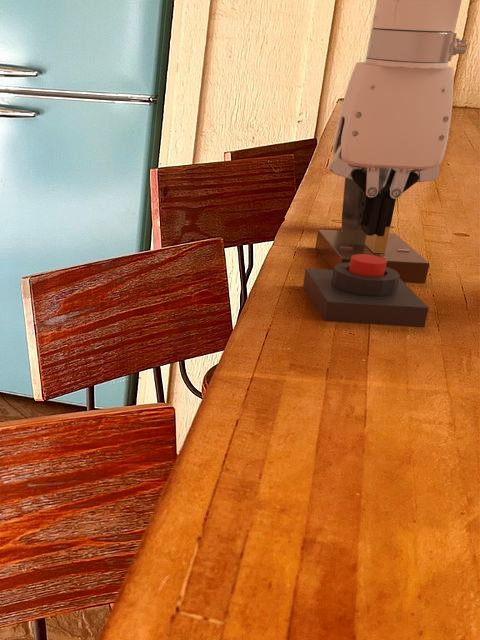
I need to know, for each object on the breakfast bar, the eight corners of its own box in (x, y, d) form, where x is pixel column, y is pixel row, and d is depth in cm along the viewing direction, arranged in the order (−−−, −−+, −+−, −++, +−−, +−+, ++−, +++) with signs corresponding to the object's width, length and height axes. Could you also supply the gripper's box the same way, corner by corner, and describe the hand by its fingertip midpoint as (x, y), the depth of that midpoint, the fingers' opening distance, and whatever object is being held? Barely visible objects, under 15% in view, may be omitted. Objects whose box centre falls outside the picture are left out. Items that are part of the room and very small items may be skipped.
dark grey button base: (391, 291, 102) (398, 258, 101) (424, 327, 91) (433, 290, 90) (302, 286, 103) (308, 253, 102) (324, 321, 92) (331, 284, 91)
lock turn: (364, 244, 111) (371, 207, 109) (376, 245, 111) (383, 207, 109) (373, 253, 108) (380, 214, 106) (385, 253, 107) (392, 215, 106)
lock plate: (392, 251, 118) (395, 232, 117) (425, 283, 105) (430, 261, 104) (314, 247, 119) (318, 228, 118) (338, 278, 106) (342, 257, 105)
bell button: (378, 270, 97) (381, 255, 96) (387, 280, 94) (391, 264, 93) (344, 268, 98) (347, 253, 97) (352, 278, 94) (355, 262, 94)
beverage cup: (390, 231, 128) (418, 87, 121) (378, 241, 123) (407, 91, 115) (338, 223, 132) (363, 83, 124) (325, 233, 126) (349, 87, 119)
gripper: (473, 51, 89) (433, 228, 97) (321, 45, 91) (293, 220, 98) (503, 56, 83) (457, 246, 90) (338, 49, 84) (306, 237, 91)
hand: (371, 232), depth 94 cm, fingers closed
